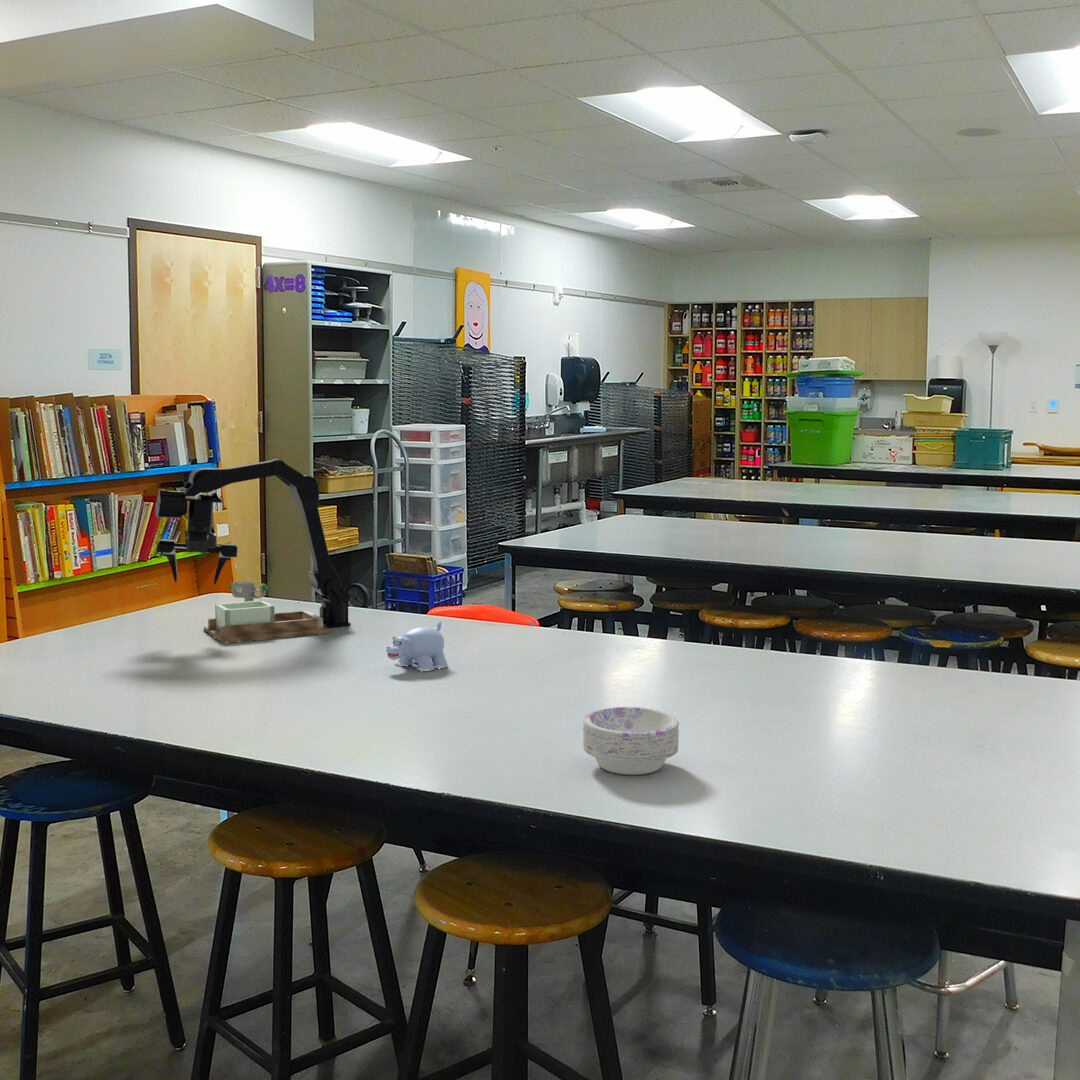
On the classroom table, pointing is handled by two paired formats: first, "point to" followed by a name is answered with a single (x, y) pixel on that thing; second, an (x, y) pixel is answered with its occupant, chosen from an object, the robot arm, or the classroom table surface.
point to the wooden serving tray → (270, 627)
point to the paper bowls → (630, 739)
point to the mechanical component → (247, 590)
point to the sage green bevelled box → (243, 613)
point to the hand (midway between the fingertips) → (195, 583)
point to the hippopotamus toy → (419, 648)
